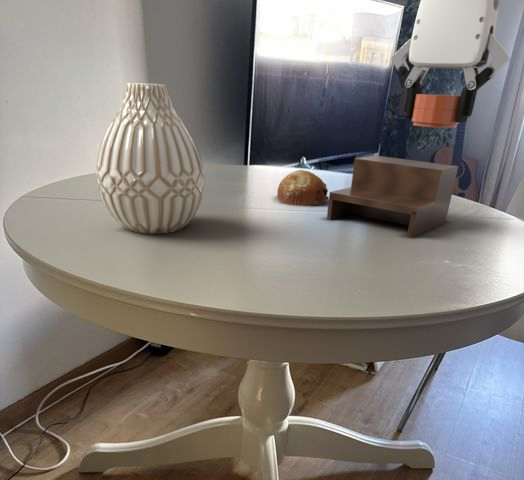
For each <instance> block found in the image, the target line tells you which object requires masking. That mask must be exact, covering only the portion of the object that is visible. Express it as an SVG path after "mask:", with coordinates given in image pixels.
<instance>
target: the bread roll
mask: <svg viewBox="0 0 524 480" xmlns="http://www.w3.org/2000/svg"><path fill="white" fill-rule="evenodd" d="M276 191H277V192H276V194H277V196H276V197H277V200H278V202H280V203H282V204H285V205H291V206H302V207H315V206H322V205H324V204H325V202H326V201H328V200H329V195H328V192H329V190H328V188H327V184H326V182H324V181H323V179H321V178H320V177H319V176H318V175H317V174H315V173H313V172H311V171H310V170H304V169H299V170H295V171H292V172H290V173H288V174H287V175H285V177H283V178H282V179H281V181H280V182H279V185H278V187H277V190H276ZM327 195H328V196H327Z"/></svg>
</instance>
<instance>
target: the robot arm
mask: <svg viewBox="0 0 524 480" xmlns="http://www.w3.org/2000/svg"><path fill="white" fill-rule="evenodd" d="M500 1H501V0H420V2H419V6H418V9H417V13H416V17H415V21H414V24H413V30H412V35H411V37H410V38H409V39H408V40H407V41H406V42H405V43H403V45H402V46H401V47H400V48H399V49H398V50H397V51H396V52H395V53H394V54H392V56H391V62H392V64H393V66H394V67H395V69H396V70H397V73H398V76H400V78H401V80H402V81H403V83H404V86H405V87H406V88H407V89H406V95H405V101H404V107H403V111H404V113H405V116H404V117H405V120H412V115H413V109H414V104H415V98H416V94H423V89H422V88H421V83H422V82H423V80H424V79H425V77H426V75H427V74H428V72H429V70H430V69H462V71H463V75H464V81H465V87H464V89H462V90H461V92H460V95H459V96H460V101H459V105H458V110H457V115H456V120H455V121H457V123H459V124H462V123H467V122H468V118H469V117H472V115H473V111H474V107H475V102H476V98H477V93H478V91H480V90H481V88H482V87H483V86H484V85H486V84H487V82H489V81H490V80H491V79H493V77H494V76H495V75H496V74H497V73H498V72H499V71H500V70H501V69H502V68H504V67H505V65H507V64H508V63H509V62H510V59H511V58H510V55H509V54H508V52H507V51H506V50H505V48H504V47H503V46H502V44H501V43H500V42H499V40H497V38H496V37H495V35H496V28H497V24H498V16H499V9H500ZM491 56H492V57H493V59H492V61H491V62H490V63H489V61H490V58H491ZM407 58H408V62H409V63H410V64H412V65H413V67H412V69H411V67H409V65H408V62H407V60H406V59H407ZM487 64H489V65H488V66H486V65H487ZM485 66H486V67H485ZM482 67H485V68H483V69H482V70H481V71H480V68H482Z"/></svg>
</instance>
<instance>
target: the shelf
mask: <svg viewBox="0 0 524 480" xmlns="http://www.w3.org/2000/svg"><path fill="white" fill-rule="evenodd" d="M353 162H354V163H353V170H352V177H351V185H350V187H346V188H342V189H341V188H340V189H337V190H332V191H329V195H328V204H327V214H326V220H328V221H332V220H336V219H339V218H343V217H345V216H349V215H354V216H355V215H356V216H359V217H365V218H369V219H375V220H378V221H379V220H380V221H384V222H388V223H389V222H390V223H395V224H399V225H404V226H407V227H408V228H407V232H406V237H407V238H410V239H412V238H414V237H416V236H417V235H420V234H423V233H425V232H427V231H429V230H431V229H434V228H436V227H438V226H440V225H443V224H445V223H446V221H447V218H448V213H449V209H450V205H451V200H452V196H453V192H454V188H455V183H456V179H457V175H458V170H459V165H454V164H452V165H451V164H445V163H436V162H431V161H430V162H429V161H422V160H415V159H414V160H413V159H406V158H398V157H390V156H384V155H370V156H363V157H355V158H354V161H353Z"/></svg>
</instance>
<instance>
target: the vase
mask: <svg viewBox="0 0 524 480" xmlns="http://www.w3.org/2000/svg"><path fill="white" fill-rule="evenodd" d="M95 179H96V180H95V181H96V185H97V189H98V193H99V196H100V198H101V201H102V203H103V205H104V207H105V208H106V210H107V212H108V213H109V214H110V216H111V217H112V218H113V219H114V220H115V221H116V222H117V223H119V224H120V225H121V226H122V227H124V228H125V229H127V230H129V231H131V232H133V233H140V234H154V235H155V234H167V233H173V232H177V231H180V230H181V229H183V228H184V227H185V226H187V224H189V223H190V222H191V221H192V220H193V219H194V217H195V216H196V214H197V212H199V209H200V206H201V204H202V201H203V197H204V193H205V171H204V166H203V161H202V158H201V156H200V152H199V150H198V147H197V145H196V143H195V140H194V138H193V136H192V134H191V133H190V131H189V130H188V128H187V126H186V125H185V123H184V122H183V120H182V119H181V118H180V116H179V115H178V114H177V112H176V109H175V108H174V106H173V103H172V100H171V97H170V94H169V91H168V87H167V85H166V84H160V83H143V82H126V83H125V86H124V91H123V96H122V100H121V104H120V105H119V108H118V110H117V112H116V113H115V115H114V116H113V118H112V120H111V121H110V123H109V125H108V127H107V129H106V131H105V132H104V135H103V137H102V139H101V142H100V145H99V149H98V153H97V159H96V167H95Z"/></svg>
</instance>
